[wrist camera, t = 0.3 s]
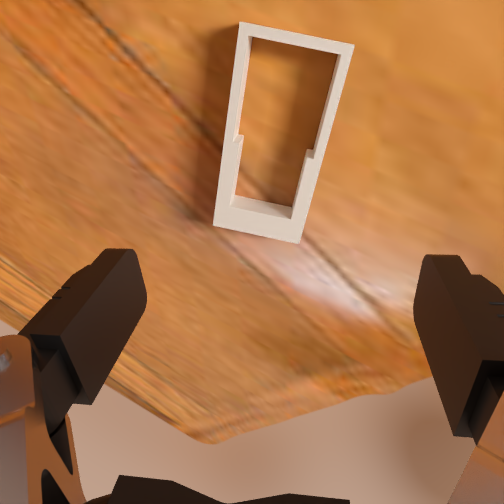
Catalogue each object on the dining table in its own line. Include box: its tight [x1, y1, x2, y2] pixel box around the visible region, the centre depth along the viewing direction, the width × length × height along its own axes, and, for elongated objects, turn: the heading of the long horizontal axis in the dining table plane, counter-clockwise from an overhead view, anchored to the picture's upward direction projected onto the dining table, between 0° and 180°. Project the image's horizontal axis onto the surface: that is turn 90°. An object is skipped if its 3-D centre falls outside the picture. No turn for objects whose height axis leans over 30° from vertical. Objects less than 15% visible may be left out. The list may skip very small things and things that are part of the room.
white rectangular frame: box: [213, 22, 355, 244], centre depth 35 cm, size 18×9×3 cm, turn 170°
